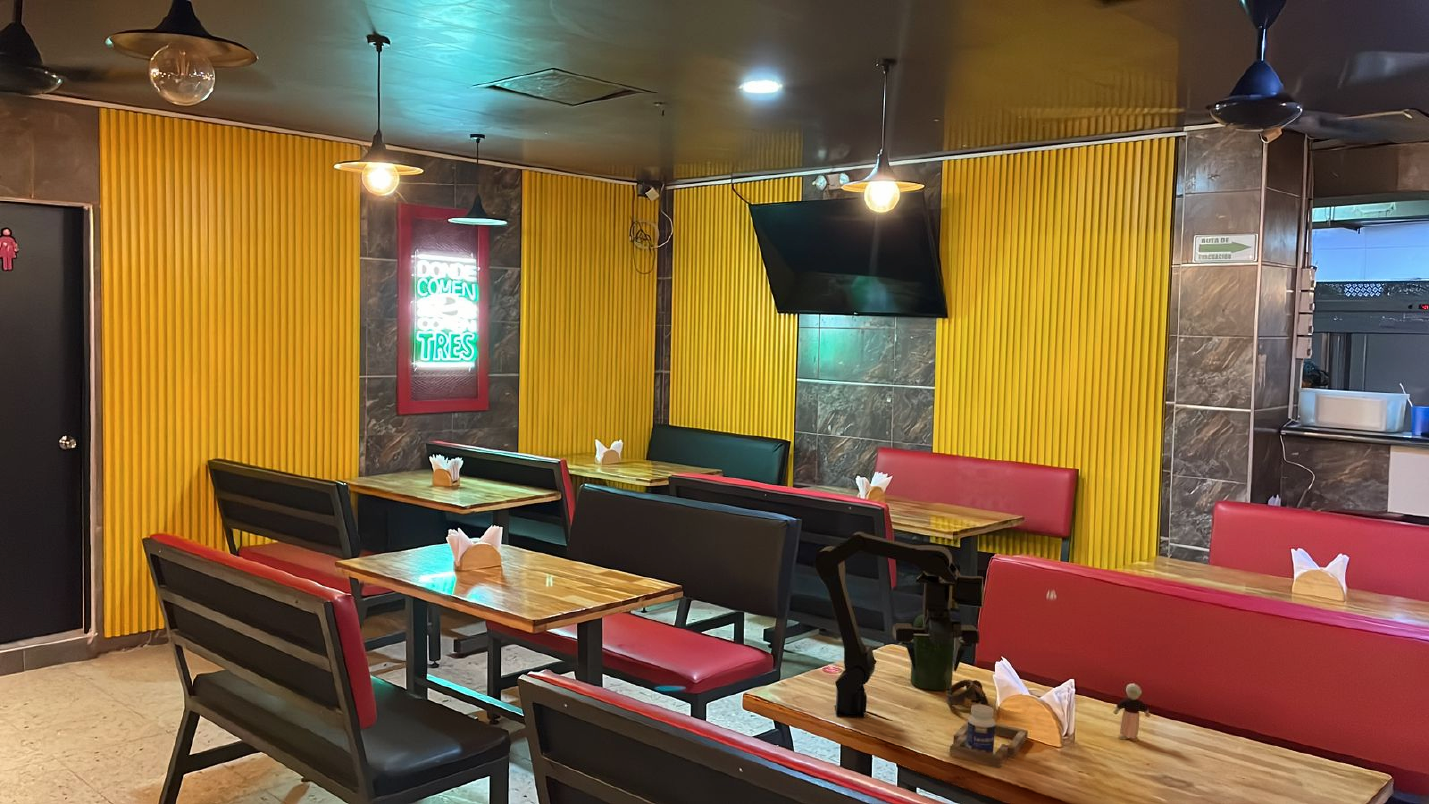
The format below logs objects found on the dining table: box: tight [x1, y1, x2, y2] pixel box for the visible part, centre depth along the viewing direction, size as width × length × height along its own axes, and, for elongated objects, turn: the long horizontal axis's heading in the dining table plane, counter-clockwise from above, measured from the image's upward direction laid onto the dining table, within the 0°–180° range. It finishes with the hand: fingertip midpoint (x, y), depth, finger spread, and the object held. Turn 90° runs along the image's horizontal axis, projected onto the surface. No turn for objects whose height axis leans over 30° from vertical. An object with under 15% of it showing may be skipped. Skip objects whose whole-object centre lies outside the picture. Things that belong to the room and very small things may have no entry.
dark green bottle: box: [910, 593, 956, 691], centre depth 271 cm, size 10×10×25 cm
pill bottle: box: [965, 703, 996, 754], centre depth 227 cm, size 6×6×10 cm
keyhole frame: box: [949, 720, 1028, 769], centre depth 232 cm, size 20×13×2 cm, turn 151°
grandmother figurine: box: [1112, 683, 1151, 742], centre depth 240 cm, size 8×4×13 cm, turn 88°
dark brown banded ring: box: [945, 679, 990, 708], centre depth 255 cm, size 12×10×8 cm
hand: (934, 670), depth 242 cm, fingers open, 9 cm apart
